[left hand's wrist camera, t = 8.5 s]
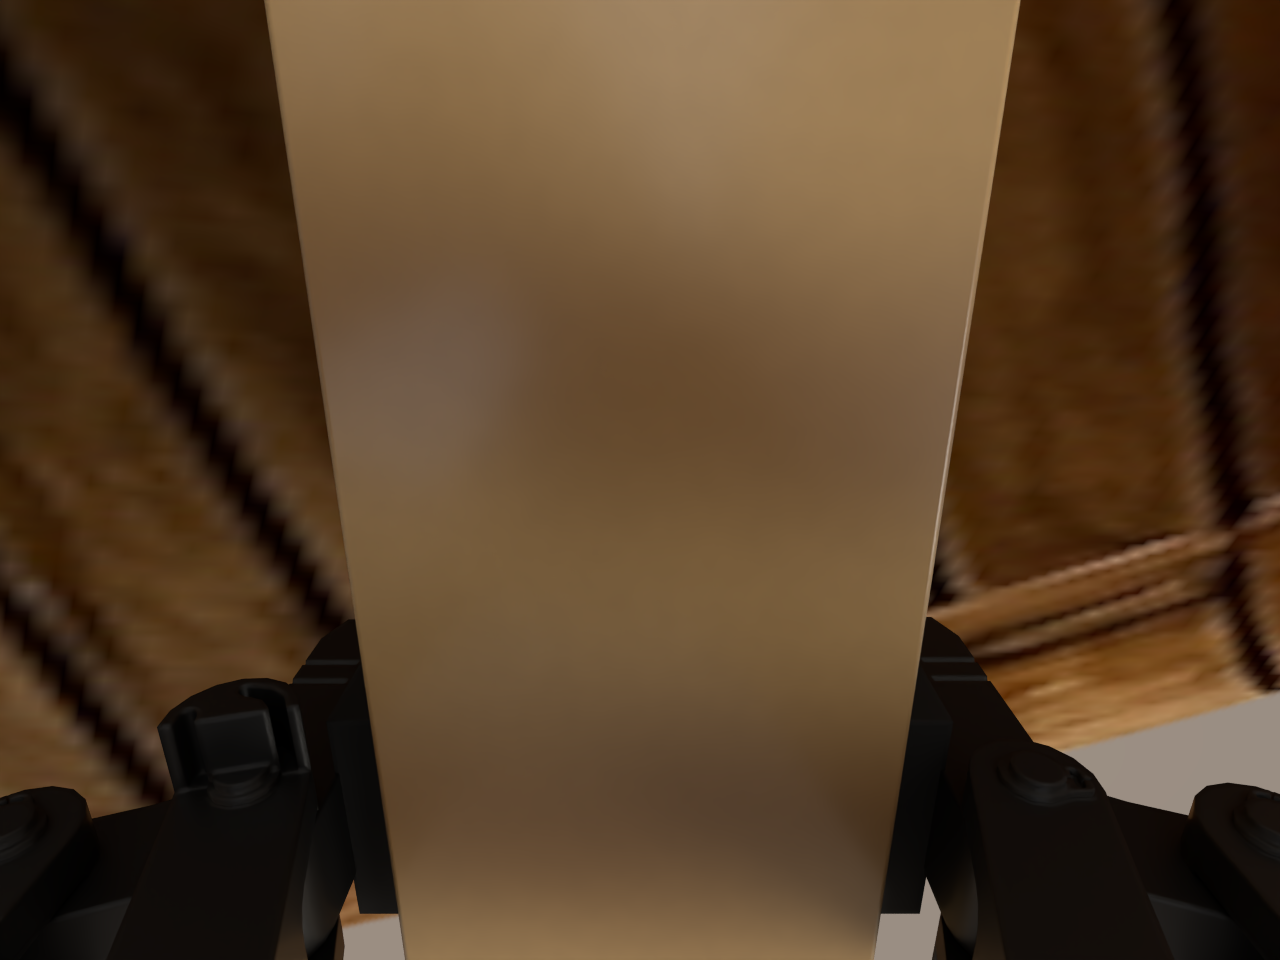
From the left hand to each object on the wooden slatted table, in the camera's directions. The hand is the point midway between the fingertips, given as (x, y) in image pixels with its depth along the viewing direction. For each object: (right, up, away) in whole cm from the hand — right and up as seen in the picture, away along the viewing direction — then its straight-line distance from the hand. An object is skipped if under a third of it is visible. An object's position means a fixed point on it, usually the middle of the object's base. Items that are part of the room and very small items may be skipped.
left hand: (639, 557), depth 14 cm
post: (0, +21, -7) cm, 22 cm away
